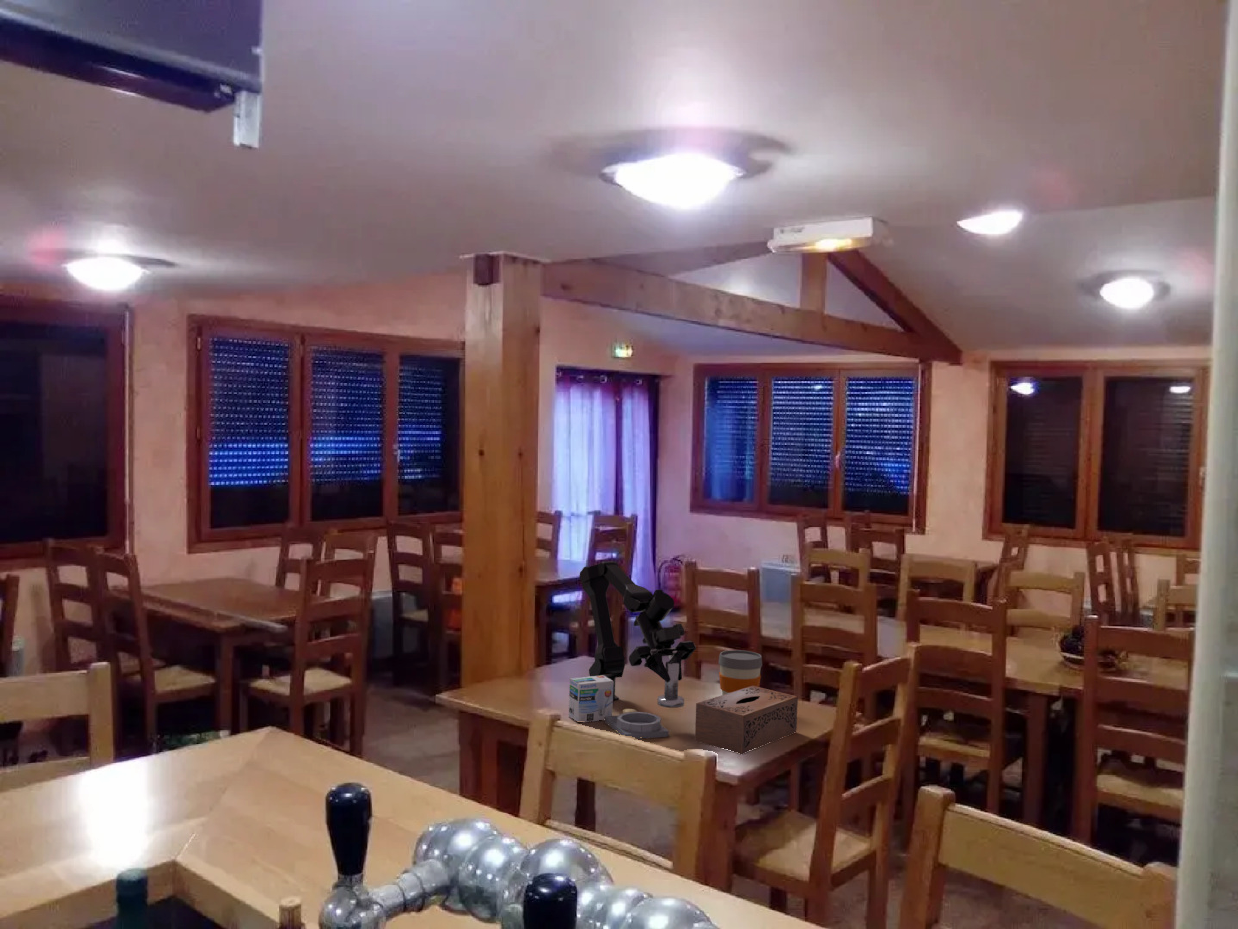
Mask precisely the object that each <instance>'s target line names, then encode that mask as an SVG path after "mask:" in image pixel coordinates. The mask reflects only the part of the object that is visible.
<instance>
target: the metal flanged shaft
mask: <svg viewBox="0 0 1238 929" xmlns="http://www.w3.org/2000/svg"><path fill="white" fill-rule="evenodd" d="M664 666H665V669H666V671H667V673H668V676H669V679H670V681H669V682H666V681H665V680H664V692H663V693H664V694H662V695H658V696H657V705H658V706H660V707H664V708H671V709H673V708H674V709H676V708H682V707H684V706H685V698H684V697H682V695H681V696H680V695H679V680H678V679H679V663H678V662H674V661H670V660H668V661H666V662H665V663H664Z"/></svg>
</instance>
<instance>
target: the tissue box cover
mask: <svg viewBox="0 0 1238 929" xmlns="http://www.w3.org/2000/svg"><path fill="white" fill-rule="evenodd" d="M798 698H799V697H798V696H797V695H793V694H789V693H784V692H780V691H775V690H772V689H767V688H763V687H760V686H759V687H756V686H750V687H747V688H744V689H740V690H737V691H734V692H731V693H728V694H724V695H718V696H715V697H712V698H709V699H706V700H703V701H699V702H697V703H696V704H695V728H694V731H695V732H694V741H695V742H697V743H700V744H704V745H707V746H710V745H711V747H714V746H715V747H714V748H717V747H718V749H721V748H724V749H728V750H731V751H734V752H738V753H740V754H739V755H741V754H742V755H744V754H746V753H745V752H747V751H749V750H752V749H754V748H757V749H759V748H761V747H760V746H762V745H764V746H766V745H765V744H767V743H769V742H772V743H774V742H776V740H777V741H779V740H781V739H780V738H782V737H784V736H787V737H788V735H789V736H791V735H790V734H792V733H794V732H796V733H797V729H798V728H797V722H798V702H799V699H798ZM794 734H795V733H794ZM792 735H793V734H792ZM784 738H785V737H784ZM778 739H779V740H778ZM782 739H783V738H782ZM773 741H774V742H773ZM769 744H770V743H769ZM767 745H768V744H767ZM758 747H759V748H758ZM762 747H763V746H762ZM724 749H723V750H724ZM728 750H727V751H728ZM754 750H755V749H754ZM731 751H730V752H731ZM752 751H753V750H752ZM734 752H733V753H734ZM749 752H750V751H749ZM738 753H737V754H738ZM743 753H744V754H743ZM747 753H748V752H747Z"/></svg>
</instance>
